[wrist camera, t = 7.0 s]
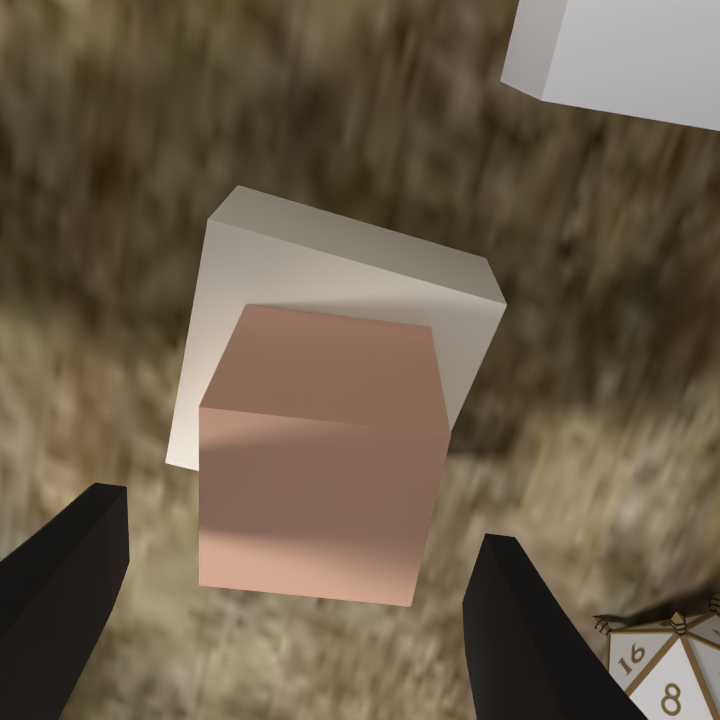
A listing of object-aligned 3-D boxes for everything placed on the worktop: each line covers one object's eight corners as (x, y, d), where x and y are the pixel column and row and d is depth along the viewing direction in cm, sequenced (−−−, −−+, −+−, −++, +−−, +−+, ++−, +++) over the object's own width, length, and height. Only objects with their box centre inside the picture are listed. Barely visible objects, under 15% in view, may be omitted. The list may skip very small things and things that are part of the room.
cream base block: (198, 395, 23) (165, 462, 19) (240, 182, 19) (207, 219, 15) (406, 447, 24) (410, 522, 20) (484, 255, 20) (507, 305, 16)
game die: (607, 589, 32) (554, 808, 27) (605, 519, 25) (534, 786, 21) (822, 660, 27) (802, 936, 22) (882, 595, 21) (873, 959, 16)
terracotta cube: (239, 454, 19) (199, 585, 14) (245, 304, 16) (198, 407, 12) (402, 472, 19) (411, 606, 15) (430, 326, 17) (451, 435, 12)
